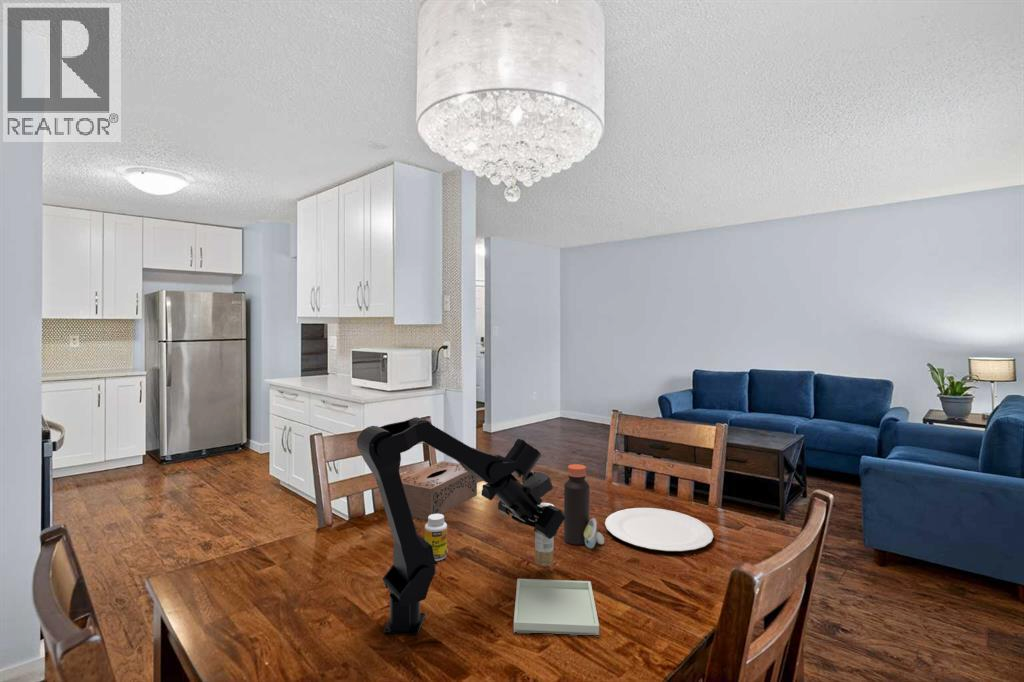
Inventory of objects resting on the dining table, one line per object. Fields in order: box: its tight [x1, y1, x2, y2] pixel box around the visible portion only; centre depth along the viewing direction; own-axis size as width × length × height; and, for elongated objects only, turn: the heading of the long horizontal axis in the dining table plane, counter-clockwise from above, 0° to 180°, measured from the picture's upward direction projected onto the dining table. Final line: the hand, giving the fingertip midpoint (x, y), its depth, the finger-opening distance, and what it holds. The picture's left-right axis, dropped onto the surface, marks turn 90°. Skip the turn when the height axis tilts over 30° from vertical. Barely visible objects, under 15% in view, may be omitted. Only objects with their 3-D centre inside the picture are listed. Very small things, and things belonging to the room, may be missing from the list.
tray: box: [513, 578, 600, 636], centre depth 100 cm, size 16×16×2 cm
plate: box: [604, 507, 715, 553], centre depth 138 cm, size 29×29×2 cm
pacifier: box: [584, 517, 605, 549], centre depth 129 cm, size 7×6×6 cm
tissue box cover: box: [401, 460, 478, 521], centre depth 159 cm, size 26×14×10 cm, turn 153°
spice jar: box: [534, 502, 555, 567], centre depth 115 cm, size 5×5×14 cm
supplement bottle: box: [424, 514, 448, 562], centre depth 122 cm, size 6×6×10 cm
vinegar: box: [563, 463, 591, 546], centre depth 132 cm, size 7×7×20 cm
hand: (549, 531), depth 116 cm, fingers closed on spice jar, 4 cm apart
